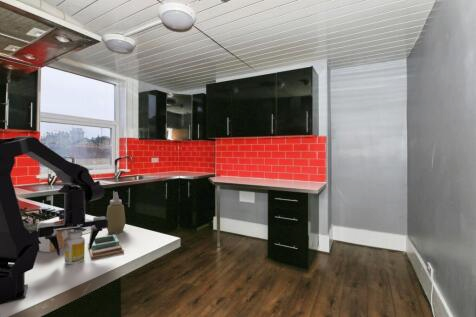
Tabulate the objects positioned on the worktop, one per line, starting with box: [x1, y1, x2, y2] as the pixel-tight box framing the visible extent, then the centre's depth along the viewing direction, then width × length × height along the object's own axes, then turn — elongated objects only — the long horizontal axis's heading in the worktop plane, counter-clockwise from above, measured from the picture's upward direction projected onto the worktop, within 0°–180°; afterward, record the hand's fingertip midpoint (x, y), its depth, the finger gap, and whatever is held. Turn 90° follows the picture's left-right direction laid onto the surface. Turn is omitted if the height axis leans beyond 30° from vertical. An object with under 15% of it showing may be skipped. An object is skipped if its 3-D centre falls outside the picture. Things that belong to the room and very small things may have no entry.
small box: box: [36, 216, 70, 253], centre depth 90 cm, size 8×6×10 cm
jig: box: [87, 234, 125, 261], centre depth 89 cm, size 14×10×3 cm
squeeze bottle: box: [105, 191, 126, 235], centre depth 108 cm, size 8×8×18 cm
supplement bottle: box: [64, 230, 86, 265], centre depth 80 cm, size 5×5×10 cm
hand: (74, 251), depth 80 cm, fingers open, 8 cm apart
